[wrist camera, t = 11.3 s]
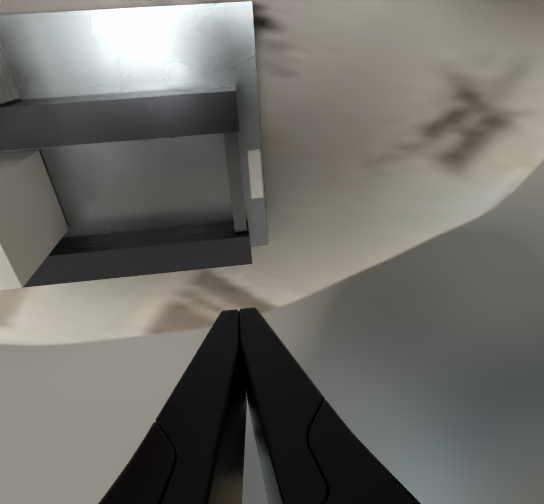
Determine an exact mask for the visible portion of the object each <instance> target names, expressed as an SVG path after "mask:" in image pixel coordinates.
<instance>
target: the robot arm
mask: <svg viewBox="0 0 544 504" xmlns="http://www.w3.org/2000/svg"><path fill="white" fill-rule="evenodd" d="M246 392H247V395H246ZM247 400H248V405H249V411H250V416H251V421H252V425H253V430H254V435H255V440H256V445H257V450H258V455H259V460H260V465H261V469H262V474H263V479H264V484H265V489H266V493H267V499H268V503H269V504H421V503H420V502H419V501H417V499H416V498H415V497H414V496H413V495H412V494H411V493H410V492H409V491H408V490H407V489H406V488H405V487H404V486H403V485H402V484H401V483H400V482H399V481H398V480H397V479H396V478H395V477H394V476H393V475H392V474H391V473H390V472H389V471H388V470H387V469H386V468H385V466H383V464H381V463H380V461H379V460H377V458H376V457H375V456H374V455H373V454H372V453H371V452H370V451H369V450H368V449H367V448H366V447H365V446H364V445H363V443H362V442H361V441H360V440H359V439H358V438H357V437H356V436H355V435H354V434H353V433H352V432H351V430H350V429H349V428H348V427H347V426H346V424H345V423H344V422H343V420H342V419H341V418H340V417H339V416H338V415H337V413H336V412H335V410H334V409H333V408H332V407H331V406H330V404H329V403H328V402H327V401H326V400H325V398H324V396H323V395H322V394H321V393H320V391H319V390H318V388H317V387H316V386H315V385H314V383H313V382H312V381H311V379H310V378H309V377H308V375H307V374H306V373H305V371H304V370H303V369H302V367H301V366H300V365H299V364H298V362H297V361H296V360H295V358H294V357H293V356H292V354H291V353H290V352H289V351H288V349H287V348H286V347H285V345H284V344H283V343H282V342H281V340H280V339H279V337H278V336H277V335H276V333H275V332H274V331H273V330H272V328H271V327H270V326H269V324H268V323H267V322H266V321H265V319H264V318H263V316H262V315H261V314H260V312H259V311H258V310H257V309H256V308H244V309H240V311H238V310H236V309H235V310H226V311H222V312H221V313H220V315H219V316H218V318H217V320H216V321H215V323H214V325H213V326H212V328H211V330H210V331H209V333H208V334H207V336H206V338H205V340H204V341H203V343H202V344H201V346H200V348H199V349H198V351H197V353H196V354H195V356H194V357H193V359H192V361H191V363H190V364H189V366H188V367H187V369H186V371H185V372H184V374H183V376H182V377H181V379H180V381H179V382H178V384H177V385H176V387H175V389H174V390H173V392H172V394H171V395H170V397H169V399H168V400H167V402H166V404H165V405H164V407H163V408H162V410H161V412H160V414H159V415H158V417H157V418H156V422H154V423H153V425H152V426H151V428H150V430H149V431H148V433H147V435H146V436H145V438H144V440H143V441H142V443H141V444H140V446H139V447H138V449H137V450H136V452H135V454H134V455H133V457H132V458H131V460H130V461H129V463H128V464H127V466H126V467H125V468H124V470H123V471H122V472H121V474H120V475H119V476H118V478H117V479H116V481H115V482H114V483H113V485H112V486H111V488H110V489H109V490H108V492H107V493H106V494H105V496H104V497H103V498H102V500H101V501H100V502H99V503H98V504H242V491H243V470H244V450H245V431H246V430H245V429H246V410H247Z"/></svg>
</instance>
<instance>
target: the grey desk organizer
mask: <svg viewBox="0 0 544 504" xmlns="http://www.w3.org/2000/svg"><path fill="white" fill-rule="evenodd" d="M36 150H39V153H40V155H41V158H42V160H43V163H44V166H45V168H46V171H47V174H48V176H49V179H50V182H51V184H52V187H53V189H54V192H55V195H56V197H57V200H58V203H59V205H60V208H61V210H62V213H63V216H64V218H65V221H66V224H67V226H68V231H67V232H66V233H65V234H64V236H63V237H62V238H61V240H60V241H59V242H58V243H57V245H56V246H55V247H54V248H53V250H52V251H51V252H50V254H49V255H48V256H47V257H46V259H45V260H44V261H43V262H42V264H41V265H40V266H39V268H38V269H37V270H36V271H35V273H34V274H33V275H32V276H31V278H30V279H29V280H28V281H27V283H26V284H25V285H24V287H31V286H41V285H51V284H60V283H70V282H80V281H90V280H99V279H109V278H119V277H128V276H138V275H148V274H157V273H167V272H177V271H187V270H196V269H206V268H216V267H225V266H235V265H245V264H252V257H251V246H258V245H268V236H267V221H266V206H265V190H264V175H263V160H262V145H261V130H260V114H259V99H258V84H257V69H256V53H255V38H254V23H253V8H252V1H248V2H230V3H211V4H193V5H175V6H157V7H139V8H120V9H102V10H84V11H66V12H47V13H29V14H11V15H0V153H11V152H23V151H36Z"/></svg>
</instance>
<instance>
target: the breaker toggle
mask: <svg viewBox="0 0 544 504" xmlns="http://www.w3.org/2000/svg"><path fill="white" fill-rule="evenodd" d="M67 231H68V226H67V224H66V221H65V218H64V216H63V213H62V210H61V208H60V205H59V203H58V200H57V197H56V195H55V192H54V189H53V187H52V184H51V182H50V179H49V176H48V174H47V171H46V168H45V166H44V163H43V160H42V158H41V155H40V153H39V150H36V151H23V152H11V153H0V290H8V289H17V288H23V287H24V285H25V284H26V283H27V281H28V280H29V279H30V278H31V276H32V275H33V274H34V273H35V271H36V270H37V269H38V268H39V266H40V265H41V264H42V262H43V261H44V260H45V259H46V257H47V256H48V255H49V254H50V252H51V251H52V250H53V248H54V247H55V246H56V245H57V243H58V242H59V241H60V240H61V238H62V237H63V236H64V234H65V233H66V232H67Z"/></svg>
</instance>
